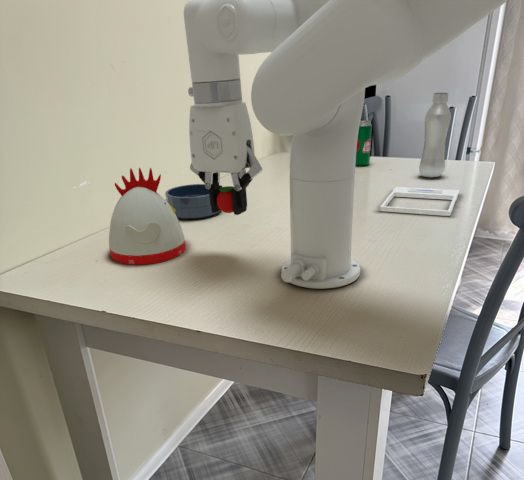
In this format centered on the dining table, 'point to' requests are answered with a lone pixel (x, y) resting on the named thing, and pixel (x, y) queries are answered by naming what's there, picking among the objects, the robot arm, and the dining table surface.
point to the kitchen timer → (144, 224)
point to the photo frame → (421, 194)
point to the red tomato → (225, 199)
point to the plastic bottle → (435, 137)
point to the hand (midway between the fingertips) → (229, 210)
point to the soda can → (363, 143)
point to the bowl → (190, 201)
